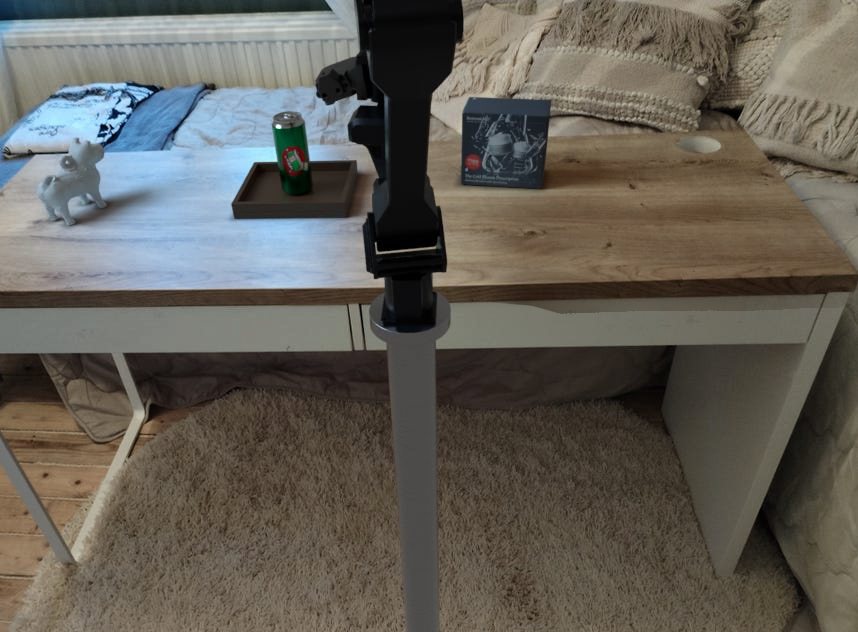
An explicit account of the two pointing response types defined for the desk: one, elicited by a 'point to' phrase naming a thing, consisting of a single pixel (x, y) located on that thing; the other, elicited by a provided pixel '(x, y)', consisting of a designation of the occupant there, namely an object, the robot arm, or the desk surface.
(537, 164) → the small box
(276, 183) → the tray
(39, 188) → the dog figurine
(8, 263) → the desk surface
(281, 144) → the soda can
